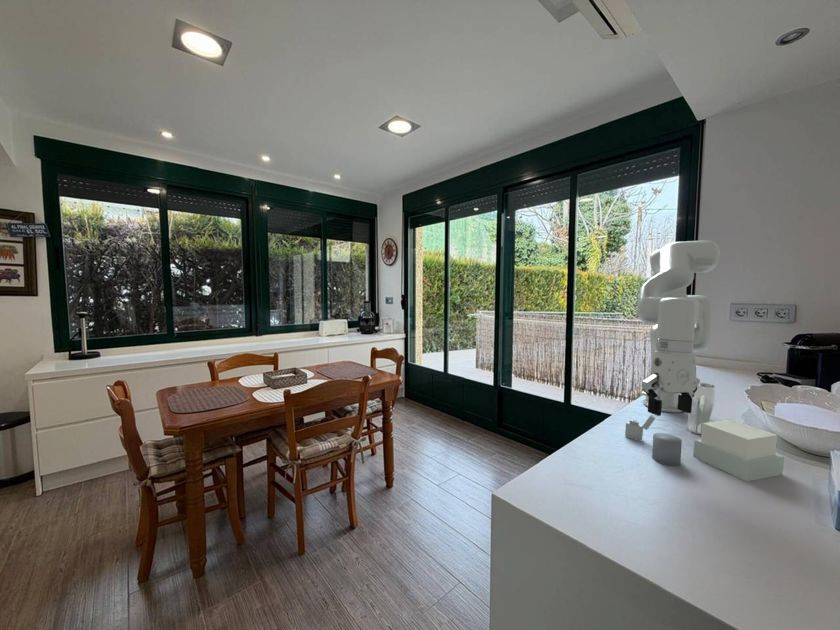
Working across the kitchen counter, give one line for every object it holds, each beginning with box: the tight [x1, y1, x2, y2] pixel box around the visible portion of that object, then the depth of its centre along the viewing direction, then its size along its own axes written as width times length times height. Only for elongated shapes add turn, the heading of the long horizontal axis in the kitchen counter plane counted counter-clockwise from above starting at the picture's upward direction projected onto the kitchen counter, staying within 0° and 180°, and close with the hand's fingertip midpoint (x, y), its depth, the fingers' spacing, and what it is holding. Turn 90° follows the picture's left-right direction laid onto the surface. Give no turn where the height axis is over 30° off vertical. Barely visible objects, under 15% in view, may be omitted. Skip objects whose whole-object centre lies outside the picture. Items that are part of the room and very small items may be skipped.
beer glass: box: [685, 381, 716, 436], centre depth 106 cm, size 7×7×15 cm
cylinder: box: [651, 432, 683, 467], centre depth 88 cm, size 6×6×6 cm
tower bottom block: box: [693, 438, 785, 482], centre depth 86 cm, size 12×12×5 cm
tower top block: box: [700, 419, 778, 460], centre depth 85 cm, size 10×10×5 cm
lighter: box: [624, 414, 657, 442], centre depth 100 cm, size 7×2×8 cm, turn 45°
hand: (669, 412), depth 87 cm, fingers open, 9 cm apart
